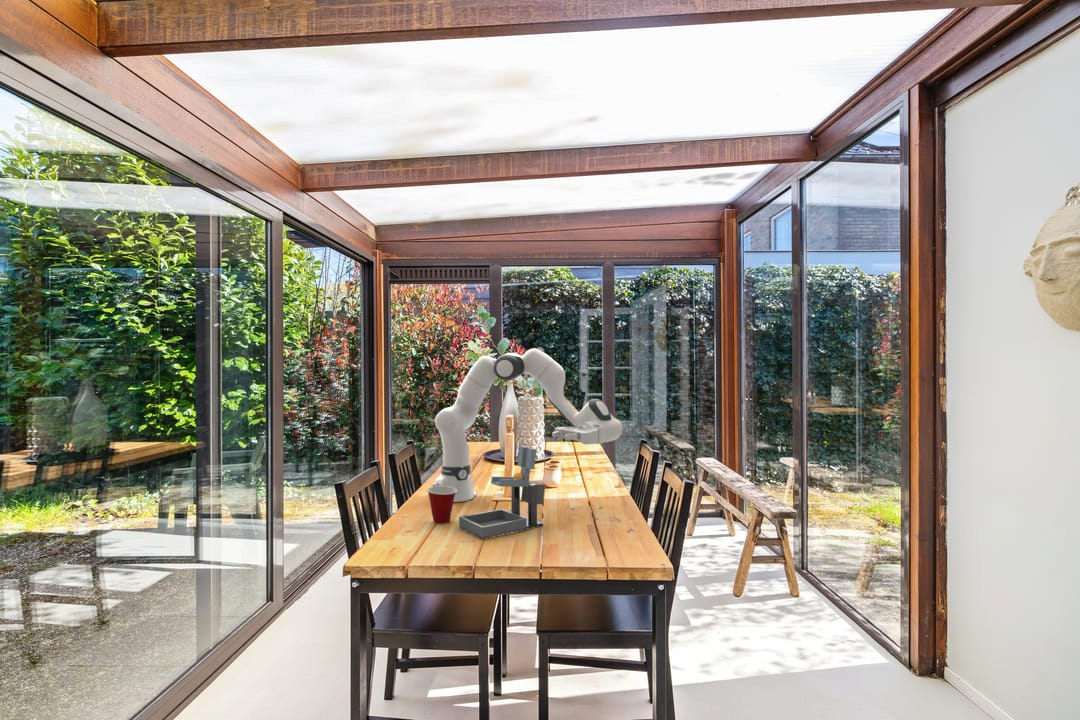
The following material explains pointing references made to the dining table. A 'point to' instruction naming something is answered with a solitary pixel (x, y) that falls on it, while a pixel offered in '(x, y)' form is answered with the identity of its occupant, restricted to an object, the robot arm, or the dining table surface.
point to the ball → (518, 476)
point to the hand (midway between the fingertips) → (559, 435)
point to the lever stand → (531, 505)
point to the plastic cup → (441, 502)
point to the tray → (492, 523)
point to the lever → (526, 463)
